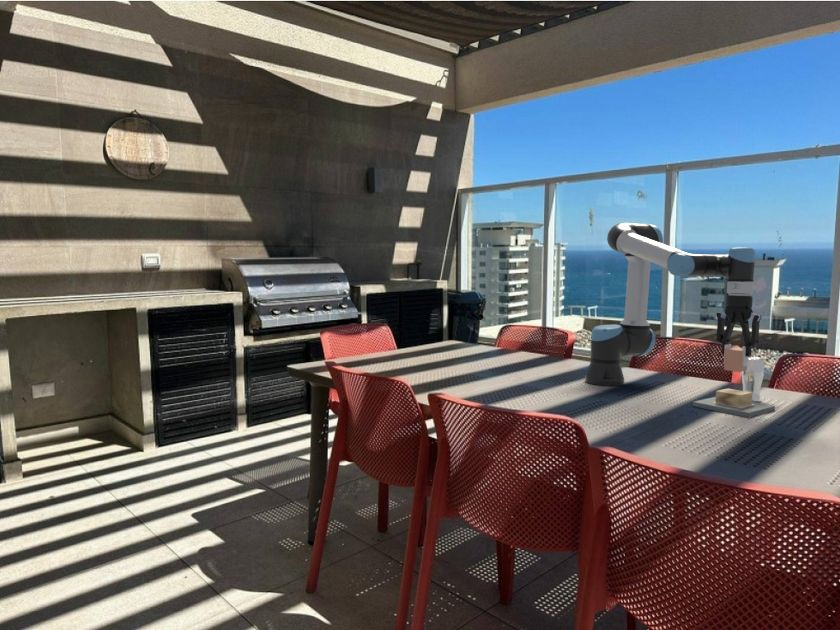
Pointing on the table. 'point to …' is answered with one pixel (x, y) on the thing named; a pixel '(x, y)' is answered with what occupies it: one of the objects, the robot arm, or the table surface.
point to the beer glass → (753, 377)
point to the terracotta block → (734, 360)
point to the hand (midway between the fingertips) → (735, 364)
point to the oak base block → (734, 397)
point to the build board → (740, 411)
